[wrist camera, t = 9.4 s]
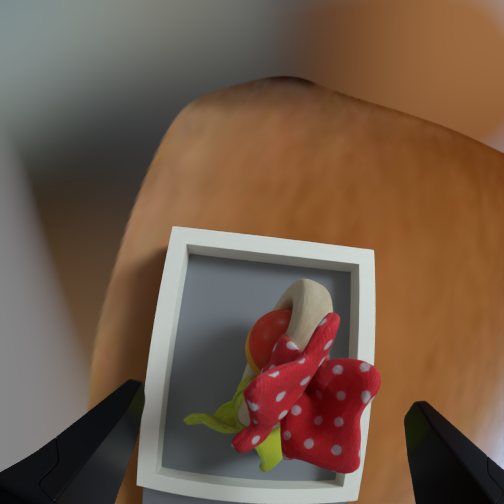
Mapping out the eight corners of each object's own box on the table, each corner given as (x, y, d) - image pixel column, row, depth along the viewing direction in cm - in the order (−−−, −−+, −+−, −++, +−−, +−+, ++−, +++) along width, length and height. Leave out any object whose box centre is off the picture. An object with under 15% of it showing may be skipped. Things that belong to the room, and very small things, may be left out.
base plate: (323, 555, 14) (337, 578, 10) (148, 543, 13) (136, 566, 10) (354, 262, 22) (373, 242, 19) (182, 242, 22) (174, 218, 18)
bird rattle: (219, 327, 20) (171, 459, 13) (248, 178, 12) (143, 401, 6) (312, 354, 19) (285, 489, 13) (396, 225, 12) (410, 460, 5)
